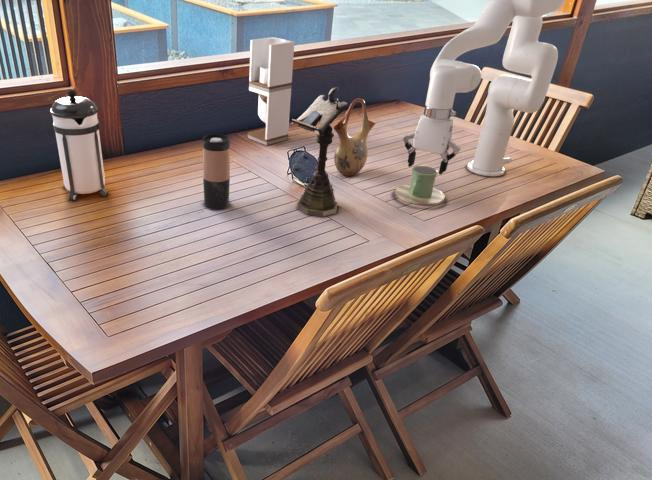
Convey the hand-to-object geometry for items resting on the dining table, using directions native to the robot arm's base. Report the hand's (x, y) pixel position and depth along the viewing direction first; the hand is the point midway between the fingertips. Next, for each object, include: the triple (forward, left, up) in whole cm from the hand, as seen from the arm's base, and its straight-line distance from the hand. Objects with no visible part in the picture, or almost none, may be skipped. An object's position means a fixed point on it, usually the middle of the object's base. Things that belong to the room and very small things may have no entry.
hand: (426, 169), depth 173 cm
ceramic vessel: (+10, -25, -10) cm, 29 cm away
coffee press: (+95, -42, -10) cm, 105 cm away
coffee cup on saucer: (0, 0, -9) cm, 9 cm away
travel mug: (+61, -18, -10) cm, 65 cm away
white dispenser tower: (+20, -67, -10) cm, 71 cm away
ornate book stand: (+36, -4, -10) cm, 38 cm away
